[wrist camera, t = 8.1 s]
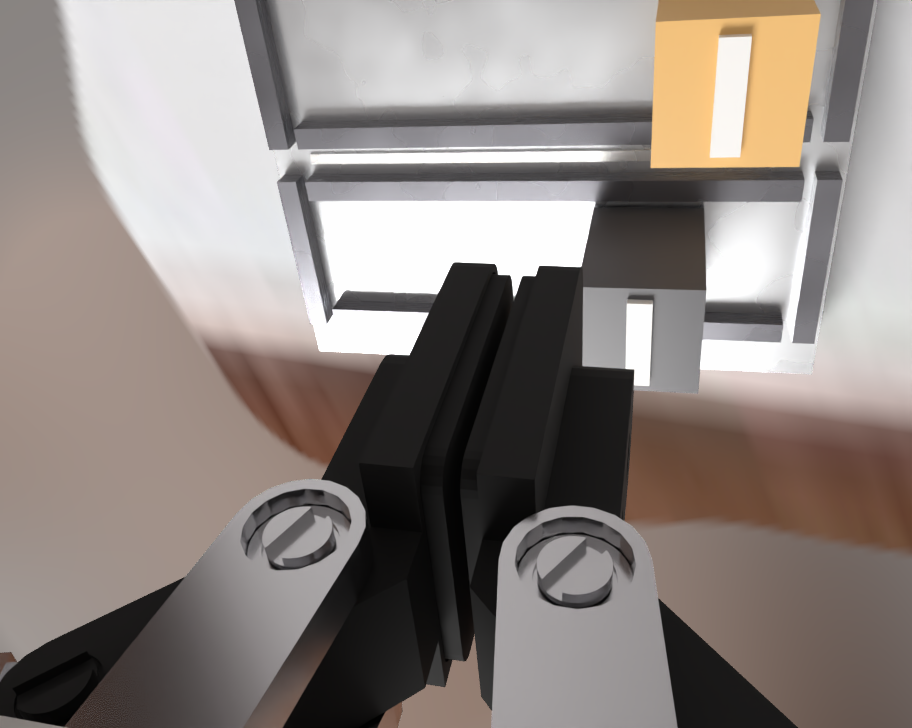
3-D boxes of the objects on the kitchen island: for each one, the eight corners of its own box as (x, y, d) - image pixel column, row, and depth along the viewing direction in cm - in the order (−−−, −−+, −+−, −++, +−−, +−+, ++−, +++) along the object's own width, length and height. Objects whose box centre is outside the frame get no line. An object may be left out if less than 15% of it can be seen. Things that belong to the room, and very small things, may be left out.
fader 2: (661, -26, 20) (655, 24, 16) (796, -35, 19) (822, 16, 15) (657, 99, 22) (650, 171, 18) (781, 96, 21) (800, 170, 17)
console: (246, -116, 23) (202, -103, 21) (890, -179, 19) (914, -170, 17) (338, 320, 31) (313, 360, 29) (804, 337, 27) (813, 386, 25)
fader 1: (593, 207, 24) (575, 291, 20) (704, 207, 23) (706, 294, 19) (594, 298, 25) (577, 391, 22) (697, 301, 25) (698, 398, 21)
